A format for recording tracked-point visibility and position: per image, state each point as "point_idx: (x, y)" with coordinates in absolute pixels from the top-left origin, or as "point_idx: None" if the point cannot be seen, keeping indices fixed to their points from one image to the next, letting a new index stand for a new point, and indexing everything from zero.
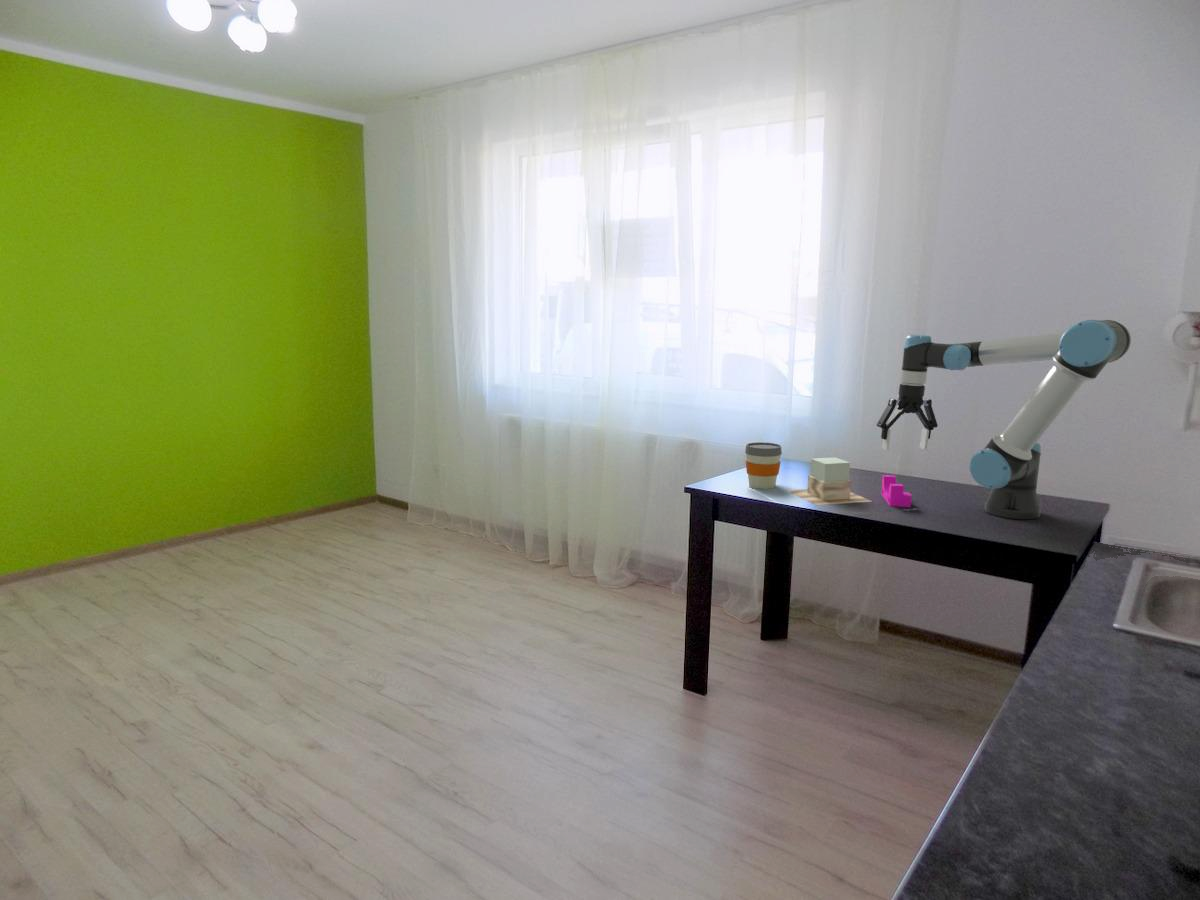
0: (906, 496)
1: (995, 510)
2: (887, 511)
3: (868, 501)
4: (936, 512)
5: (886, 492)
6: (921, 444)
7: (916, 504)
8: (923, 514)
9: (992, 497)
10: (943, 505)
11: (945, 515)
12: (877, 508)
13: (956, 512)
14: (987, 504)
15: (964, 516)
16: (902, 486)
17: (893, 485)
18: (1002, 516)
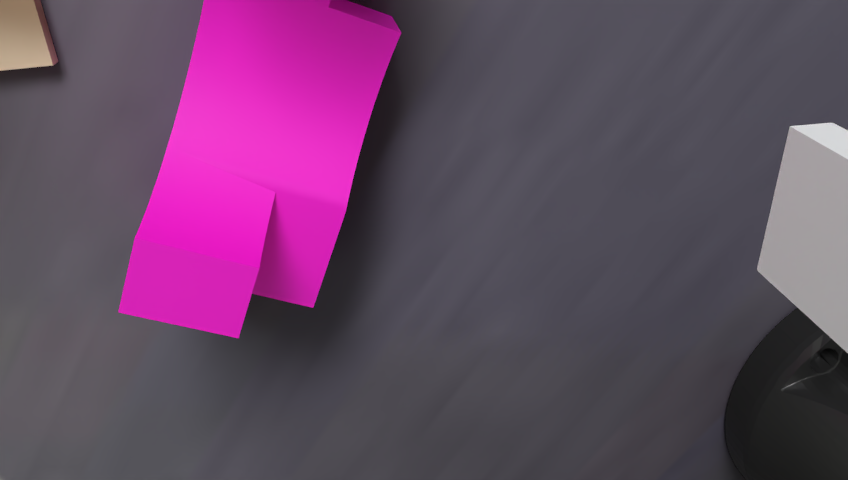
0: (273, 295)
1: (740, 455)
2: (101, 305)
3: (13, 68)
4: (440, 349)
5: (216, 8)
6: (827, 206)
7: (427, 147)
8: (327, 384)
9: (805, 457)
10: (607, 196)
11: (453, 409)
12: (50, 224)
13: (566, 357)
14: (767, 402)
15: (551, 432)
16: (226, 332)
17: (142, 310)
18: (736, 465)
